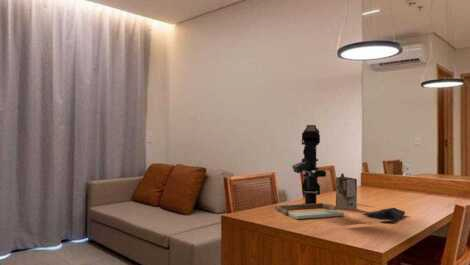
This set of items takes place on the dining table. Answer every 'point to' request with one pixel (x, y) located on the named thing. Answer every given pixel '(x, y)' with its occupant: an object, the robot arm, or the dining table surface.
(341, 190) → the coffee box
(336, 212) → the tailgate
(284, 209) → the brown shallow tray
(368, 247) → the dining table surface
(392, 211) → the dark slate chunk
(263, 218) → the dining table surface
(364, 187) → the dining table surface
